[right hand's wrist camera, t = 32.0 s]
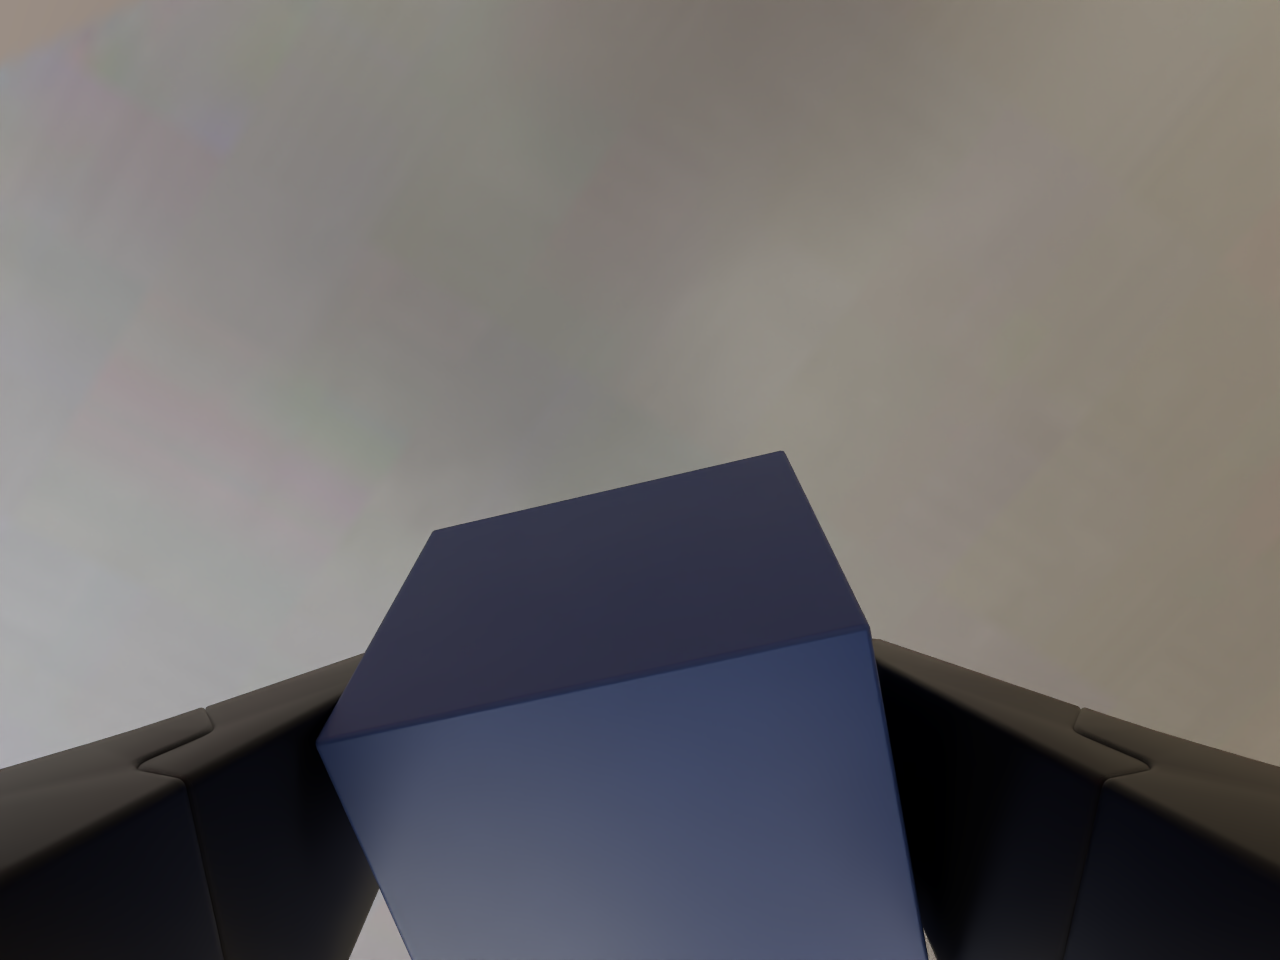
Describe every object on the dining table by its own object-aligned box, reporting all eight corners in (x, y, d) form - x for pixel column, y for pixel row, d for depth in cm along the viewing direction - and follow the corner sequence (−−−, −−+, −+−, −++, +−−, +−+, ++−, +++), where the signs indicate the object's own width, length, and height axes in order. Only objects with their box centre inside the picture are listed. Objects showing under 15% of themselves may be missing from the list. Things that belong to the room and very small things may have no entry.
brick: (520, 775, 13) (460, 1074, 9) (431, 529, 12) (311, 743, 8) (836, 711, 13) (934, 990, 9) (783, 448, 12) (870, 623, 7)
